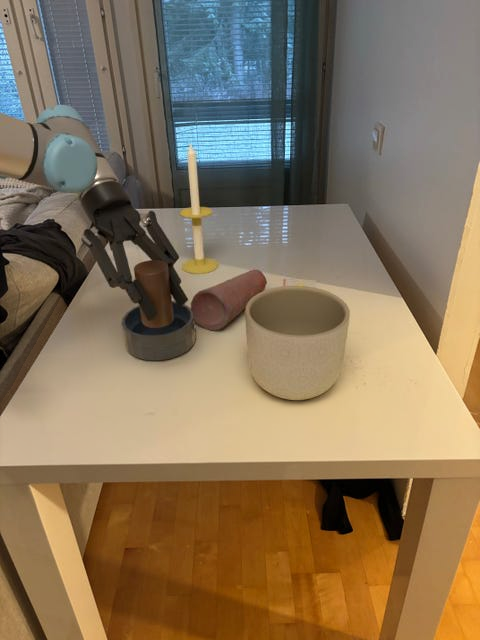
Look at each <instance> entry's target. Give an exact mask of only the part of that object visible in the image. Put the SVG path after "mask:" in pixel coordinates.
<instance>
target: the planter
mask: <svg viewBox="0 0 480 640" xmlns="http://www.w3.org/2000/svg"><path fill="white" fill-rule="evenodd" d="M244 310H245V311H244V316H245V317H244V318H245V319H244V320H245V336H246V351H247V361H248V365H249V366H248V367H249V370H250V373H251V375H252V377H253V379H254V381H255V382H256V383H257V384H258V386H259V387H260V388H262V389H263V390H264V391H266V392H267V393H269V394H270V395H272V396H275V397H277V398H281V399H284V400H288V401H289V400H290V401H304V400H308V399H312V398H315V397H318V396H320V395H322V394H324V393H325V392H327V391H328V390H329V389H331V387H332V386H333V385H334V384H335V383H336V381H337V380H338V378H339V375H340V372H341V370H342V366H343V362H344V357H345V351H346V344H347V338H348V332H349V326H350V318H351V317H350V315H351V313H350V312H351V311H350V308H349V306H348V305H347V303H346V302H345V301H344V300H343V299H342V298H341V297H339V296H338V295H336V294H334V293H332V292H330V291H327V290H325V289H321V288H318V287H316V288H313V287H307V286H283V285H282V286H276V287H272V288H268V289H264V291H262V292H260V293H258V294H257V295H255V296H254V297H252V298H251V299H250V300H249V302H248V303H247V305H246V308H245V309H244Z"/></svg>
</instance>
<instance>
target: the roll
mask: <svg viewBox="0 0 480 640" xmlns="http://www.w3.org/2000/svg"><path fill="white" fill-rule="evenodd" d="M133 275H134V280H136V279H138V280H139V282H140V283H141V285H142V287H143V289H144V290H145V292H146V294H147V295H148V297H149V299H150V301H151V302H152V304H153V306H154V308H155V309H156V311H157V313H158V314H157V315H156V316H155V317H154V319H153V320H151V321H148V319H147V317H146V316H145V314H144V312H143V311H142V309H141V307H140V312H141V319H142V323H143V324H144V325H145V326H147V327H150V328H160V327H164V326H167V325H169V324H170V323H172V322H173V320H174V314H173V305H172V301H173V296H172V295H171V288H170V279H169V271H168V264H167V263H166V262H163V261H159V260H151V259H150V260H144V261H140V262H139V263H137V264H135V266H134V267H133ZM138 306H140V305H139V304H138Z"/></svg>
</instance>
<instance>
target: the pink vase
mask: <svg viewBox="0 0 480 640" xmlns="http://www.w3.org/2000/svg"><path fill="white" fill-rule="evenodd" d="M267 284H268V282H267V278H266V276H265V274H264V273H263V271H262V270H259V269H252V270H248V271H247V272H243V273H241V274H238V275H236V276H234V277H231V278H229V279H227V280H225V281H223V282H220V283H217V284H215V285H213V286H210V287H207V288H204V289H201V290H199V291H197V293H195V294H194V295H193V297H192V299H191V301H190V309H191V310H192V311H193V315H194V322H195V323H197V324H198V325H199V326H200V327H202V328H204V329H207V330H209V331H219V330H222V329H223V328H224V327H225V326H227V325H228V324H229V323H230V322H232V321H233V320H234V319H235V318H236V317H238V315H240V314H241V313H242V312H243V311H244V310H245V309H246V305H247V303H248V302H249V300H250V299H251V298H252V297H254V296H255V295H257V294H258V293H260V292H263V291H265V290H266V285H267Z"/></svg>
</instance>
